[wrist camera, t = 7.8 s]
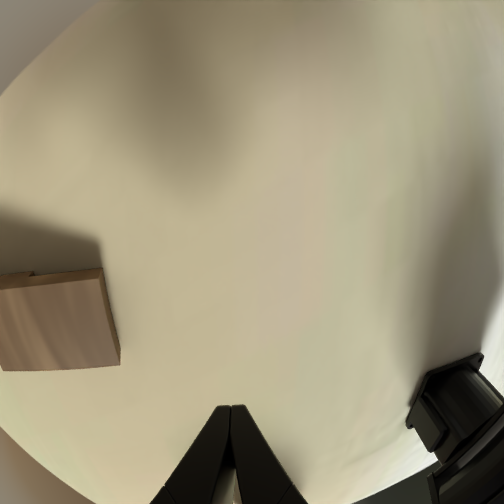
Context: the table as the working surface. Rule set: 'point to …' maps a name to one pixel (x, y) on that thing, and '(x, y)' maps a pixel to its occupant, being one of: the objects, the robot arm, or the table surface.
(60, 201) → the table surface
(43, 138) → the table surface
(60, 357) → the domino
